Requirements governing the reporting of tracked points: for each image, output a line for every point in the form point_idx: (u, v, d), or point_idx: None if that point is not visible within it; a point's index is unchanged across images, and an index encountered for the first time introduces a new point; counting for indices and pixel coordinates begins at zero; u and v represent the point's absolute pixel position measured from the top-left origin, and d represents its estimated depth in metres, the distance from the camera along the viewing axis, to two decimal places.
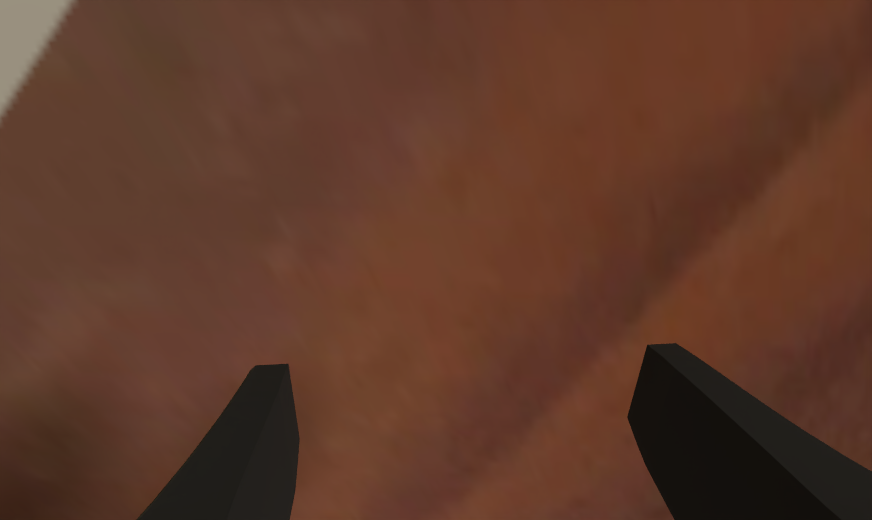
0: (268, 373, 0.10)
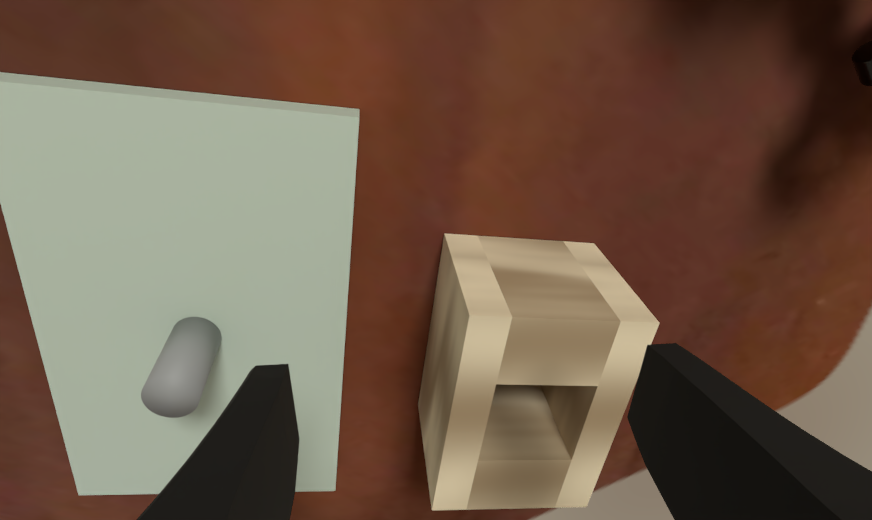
0: (268, 373, 0.10)
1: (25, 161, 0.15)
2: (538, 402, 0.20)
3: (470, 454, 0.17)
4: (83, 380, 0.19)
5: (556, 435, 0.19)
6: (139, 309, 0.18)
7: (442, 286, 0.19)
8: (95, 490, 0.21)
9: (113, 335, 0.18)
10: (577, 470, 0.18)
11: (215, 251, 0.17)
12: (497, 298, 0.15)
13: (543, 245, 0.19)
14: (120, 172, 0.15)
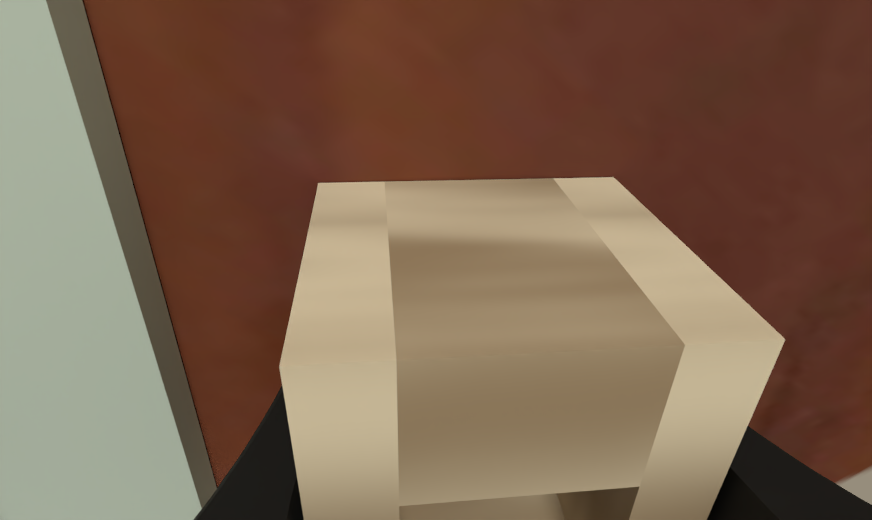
0: None
1: None
2: None
3: None
4: None
5: None
6: None
7: None
8: None
9: None
10: None
11: None
12: (375, 310, 0.06)
13: (512, 188, 0.10)
14: None
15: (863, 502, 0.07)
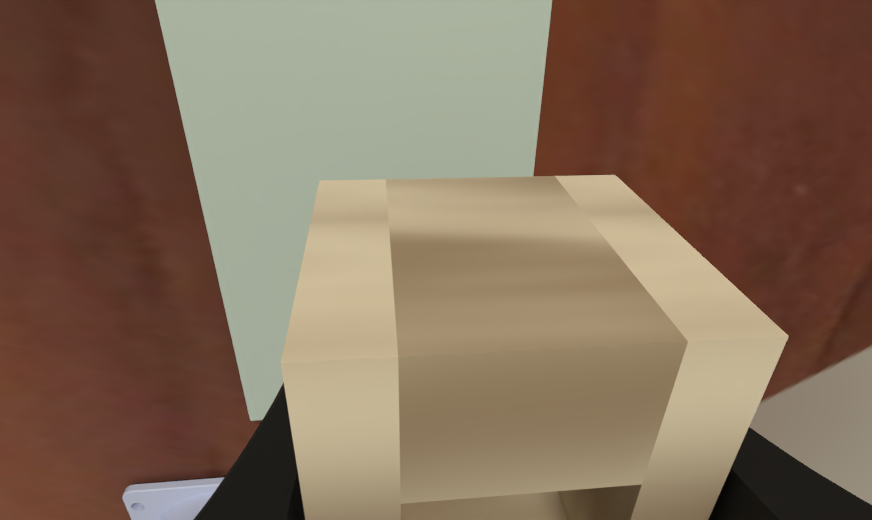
0: None
1: (198, 26, 0.14)
2: None
3: None
4: (256, 288, 0.18)
5: None
6: (314, 200, 0.16)
7: None
8: None
9: (287, 233, 0.17)
10: None
11: (394, 122, 0.15)
12: (377, 307, 0.06)
13: (513, 186, 0.10)
14: (297, 31, 0.14)
15: (862, 502, 0.07)
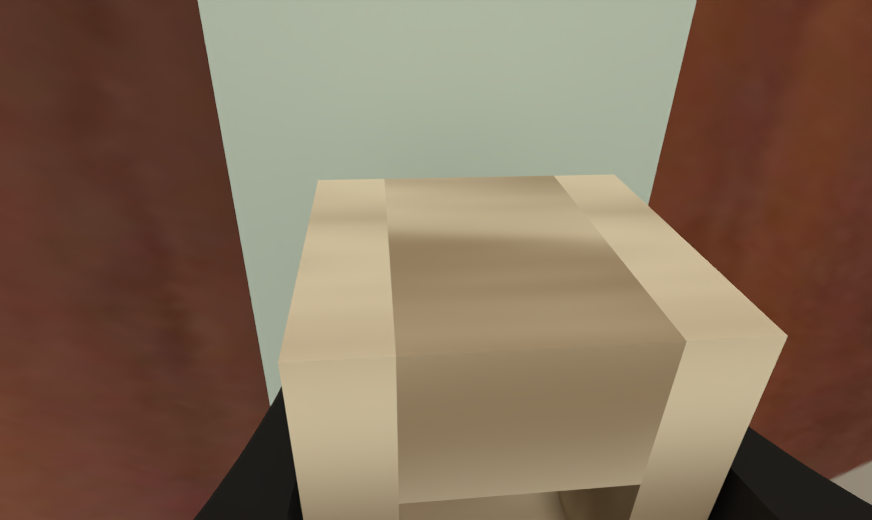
0: None
1: (254, 54, 0.11)
2: None
3: None
4: None
5: None
6: None
7: None
8: None
9: None
10: None
11: (485, 169, 0.13)
12: (375, 306, 0.06)
13: (512, 185, 0.10)
14: (376, 60, 0.11)
15: (863, 502, 0.07)
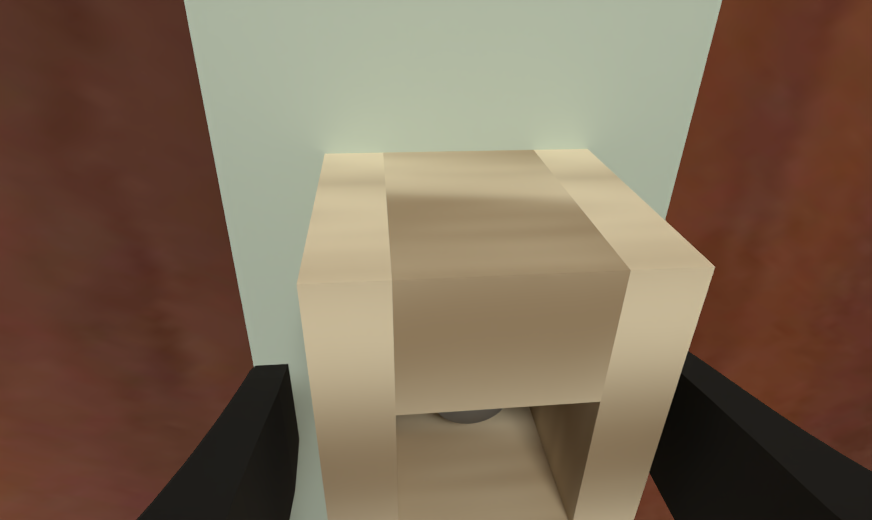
0: (268, 374, 0.10)
1: (246, 61, 0.10)
2: (518, 420, 0.12)
3: None
4: (301, 379, 0.14)
5: (545, 480, 0.11)
6: None
7: None
8: (304, 518, 0.17)
9: None
10: None
11: None
12: (374, 246, 0.08)
13: (496, 157, 0.11)
14: (377, 67, 0.10)
15: None
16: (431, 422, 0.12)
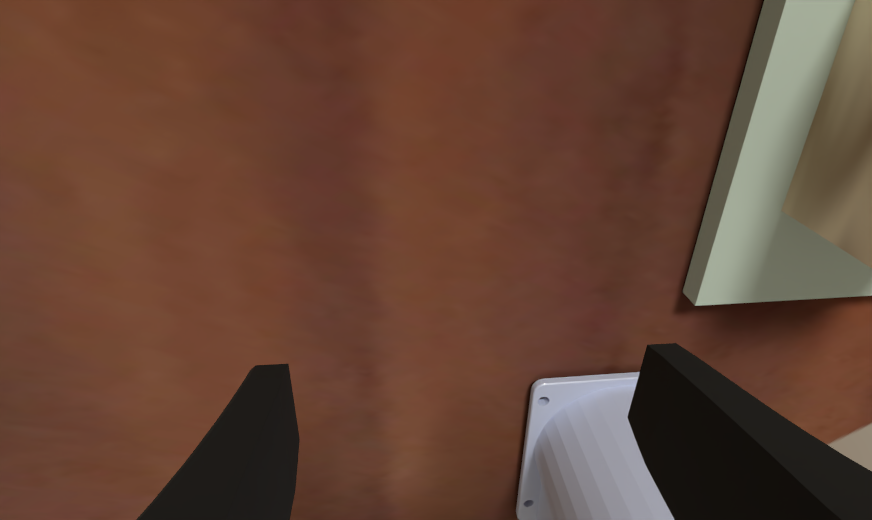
0: (268, 373, 0.10)
1: None
2: None
3: None
4: (768, 161, 0.19)
5: None
6: None
7: None
8: (712, 299, 0.21)
9: None
10: None
11: None
12: None
13: None
14: None
15: None
16: None
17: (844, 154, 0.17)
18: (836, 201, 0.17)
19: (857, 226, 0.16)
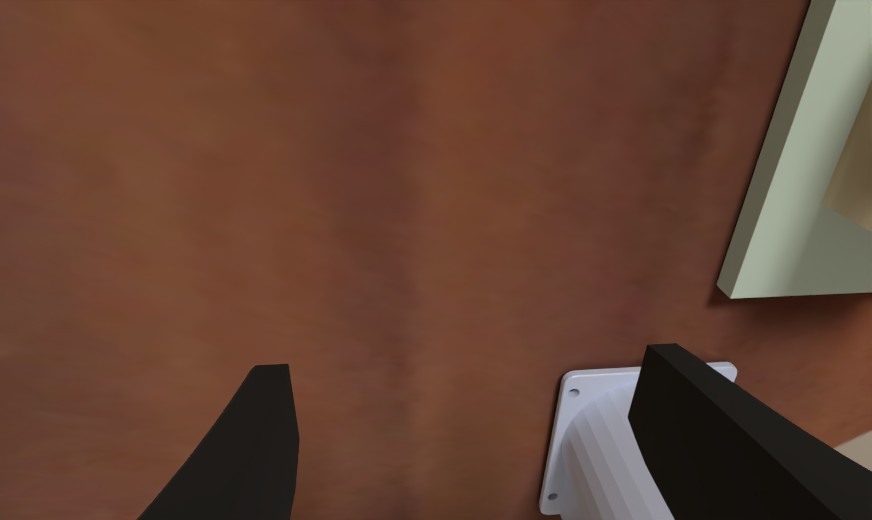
0: (268, 374, 0.10)
1: None
2: None
3: None
4: (812, 153, 0.19)
5: None
6: None
7: None
8: (747, 292, 0.21)
9: None
10: None
11: None
12: None
13: None
14: None
15: None
16: None
17: None
18: None
19: None
